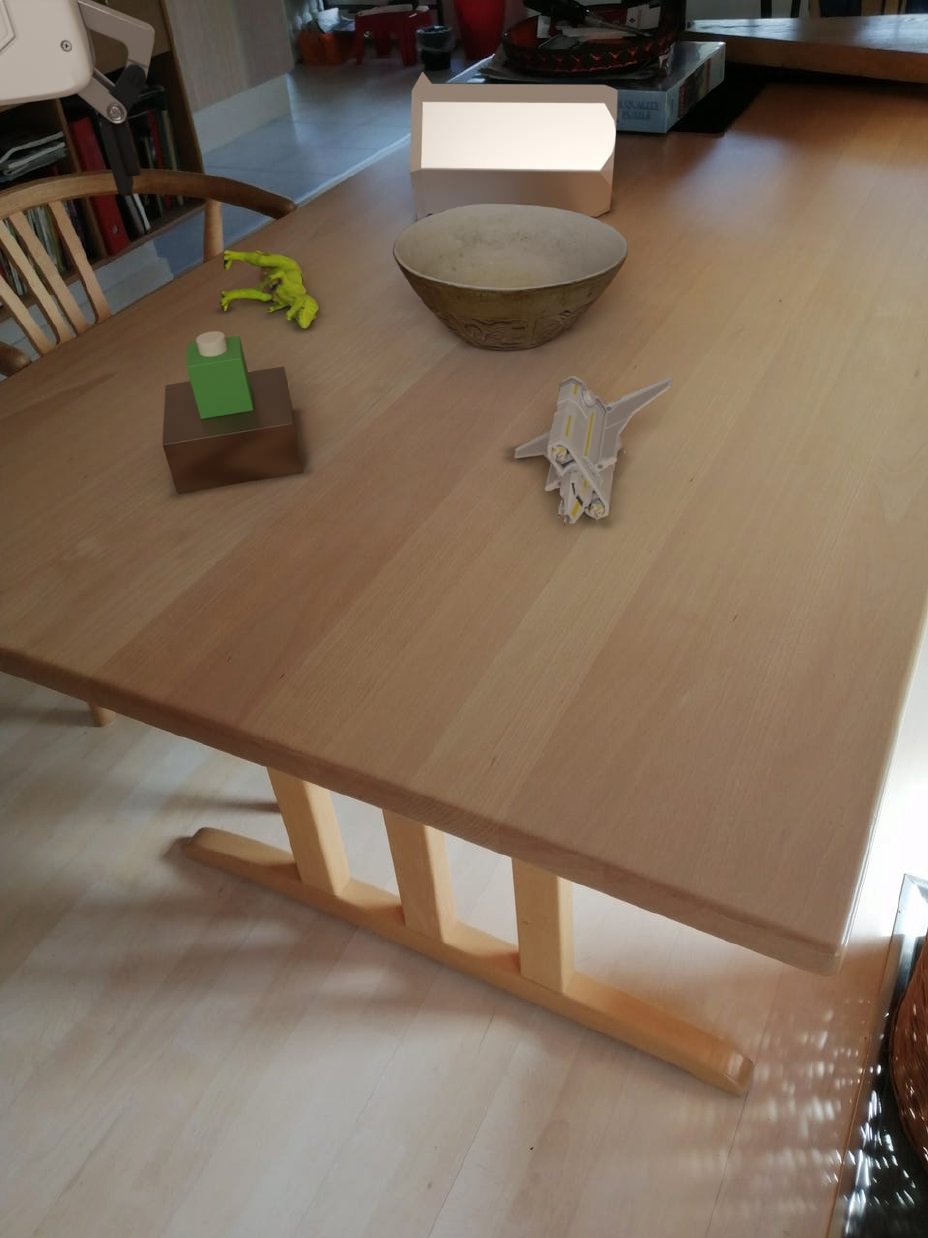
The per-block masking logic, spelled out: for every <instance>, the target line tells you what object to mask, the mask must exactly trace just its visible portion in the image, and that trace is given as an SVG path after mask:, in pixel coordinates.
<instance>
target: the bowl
mask: <svg viewBox="0 0 928 1238" xmlns="http://www.w3.org/2000/svg"><path fill="white" fill-rule="evenodd" d="M628 253H629V244H628V241H627V240H626V238H625V237H624V235H623V233H621V232H620V231H619V229H617V228H616V227H615V226H613V225H611V224H608V223H606V222H604V221H602V220H600V219H597V218H595V217H590V216H587V215H584V214H582V213H577V212H573V211H568V210H563V209H558V208H552V207H543V206H532V205H514V204H477V205H465V206H459V207H456V208H452V209H447V210H443V211H441V212H439V213H435V214H429V215H427V216H426V217H425V218H423V219H421V220H420V221H418V220H417V221H415V222H414V223H412V224H409V225H408V226H407V227H405V228H404V229H402V230H401V232H400V234H399V235H398V236H397V238H396V240H395V241H394V243H393V247H392V255H393V257H394V260H395V263H396V264H397V266H398V268H399V270H400V272H401V273H402V275H403V276H404V278H405V279H406V280H407V282H408V284H409V285H410V287H411V288H412V289H413V292H414V293H415V294H416V295H417V296H418V297H419V298H420V299H421V301H422V302H423V304H424V305H425V307H427V309H428V310H429V311H430V312H431V313H432V314H433V315H434V316H435V317H436V318H437V319H438V320H439V322H440V323H442V324H443V325H444V326H445V327H446V328H447V329H448V330H450V331H451V332H452V333H453V334H455V335H456V336H457V337H459V338H460V339H461V340H463V341H464V342H466V343H468V344H470V345H472V346H474V347H478V348H481V349H487V350H495V351H515V350H521V349H529V348H535V347H538V346H540V345H543V344H546V343H547V342H550V341H551V340H552V339H553V340H554V338H556V337H558V336H559V335H560V334H562V333H563V332H564V331H566V330H567V329H568V328H570V327H571V326H572V325H573V324H575V323H576V322H577V321H578V320H579V319H580V317H582V316H583V315H584V314H586V312H587V311H588V310H589V309H590V308H591V307H592V305H593V304H594V303H596V301H598V299H599V298H600V297H601V296H602V294H603V293H604V292H605V291H606V289H608V287H609V286H610V285H611V283H612V282H613V281H614V279H615V278H616V276H617V275H618V273H619V272H620V270H621V268H622V267H623V265H624V263H625V262H626V259H627V257H628Z"/></svg>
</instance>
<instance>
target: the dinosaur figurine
mask: <svg viewBox="0 0 928 1238" xmlns="http://www.w3.org/2000/svg"><path fill="white" fill-rule="evenodd" d="M221 258H222V260H223V268H224V269H225V271H229V270H230V268H231V266H232V263H233V261H242V262H245V263H248V264H249V265H250V266H254V267H257V268H260V274H259V281H258V286H257V287H254V286H248V287H246V288H239V289H237V288H234V289H231V290H221V291H220V294H221V299H220V302H219V305H220V306H221V310H223V311H224V312H226V311H227V310H228V307H229V304H230V302H231V301H233V300H238V299H239V300H240V299H248V300H254V301H255V300H260V301H261V302H268V301H272V303H270V306H269V307H268V309H267V313H269V314H270V313H273V312H274V311H278V310H280V309H284V308H285V307H289V306H290V309H289V310H287V311H286V313H285V319H286V320H287V321H289V322H292V321H293V319H295V320H296V321H297V323H298V326H299V327H300V328H301V329H308V328H309V327H310V325H311V324H312V322H313V321H314V320H316V318H317V312H318V310H319V307H320V306H319V304H318V303H317V300H316V299H315V298H313V296H311V295H309V294H308V293H307V289H306V288H305V286H304V285H303V284H304V283H305V281H306V277H305V276H304V274H303V272H302V269H301V267H300V266H299V264H298V263H297V261H296V260H294V259H293V258H291V257H288V256H285V255H283V254H275V253H273V252H270V251H269V250H267V251H265V252H262V251H259V250H258V249H257V250H255V251H252V252H245V251H232V250H228V249H227V250H224V252H223V255H222V257H221Z"/></svg>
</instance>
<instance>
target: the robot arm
mask: <svg viewBox="0 0 928 1238" xmlns="http://www.w3.org/2000/svg"><path fill="white" fill-rule="evenodd" d="M90 31H92V32H95V33H97V34H100V35H103V36H106V37H108V38H110V39H113V40H116V41H118V42H120V43H122V44H123V45H124V46H125V47H126V49H127V56H126V63H125V66H124V69H123V71H122V72H121V74H120V75H119V76H118V79H117V81H116V82H115V83H113V81H111V80H110V79H109V78H108V77H106V76H105V75H104V74H103V73H102V72H101V71H99V70H98V69H97V68H96V62H97V61H96V60H97V59H96V52H95V51H96V50H95V47H94V42H93V38H92V36H91V32H90ZM155 40H156V32H155V28H154V26H152V25H151V24H149V23H148V22H145V21H143V20H140V19H138V18H135V17H133V16H130V15H128V14H126V13H124V12H120V11H118V10H116V9H113V8H111V7H108V6H106V5H104V4H101V3H99V2H96V1H95V0H0V107H1V106H8V105H9V106H10V105H16V104H23V103H25V104H26V103H31V102H40V101H46V100H54V99H60V98H65V97H70V96H73V95H76V94H77V95H78V96H79V97H80V98H82V99H83V100H84V101H85V102H86V103H87V104H89V105H90V106H91V107H92V108H93V109H95V110H96V111H97V112H98V113H99V114H100V116H101V123H100V128H99V130H100V135H101V138H102V142H103V146H104V148H105V152H106V156H107V160H108V162H109V166H110V170H111V173H112V177H113V180H114V183H115V186H116V191H117V193H118V195H120V196H122V197H129V196H130V197H131V196H132V195H133V191H134V190H133V188H134V177H138V176H141V171H142V170H141V166H140V161H139V157H138V154H137V150H136V147H135V142H134V138H133V135H132V130H131V128H130V124H129V121H128V117H127V116H128V114H129V113H130V111H131V109H132V108H133V106H134V103H135V102H136V101H137V99H138V97H140V94H141V93H142V90H143V89H144V87H145V86H146V83H147V79H148V75H149V74H148V73H149V68H150V65H151V59H152V54H153V49H154V44H155Z"/></svg>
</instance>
